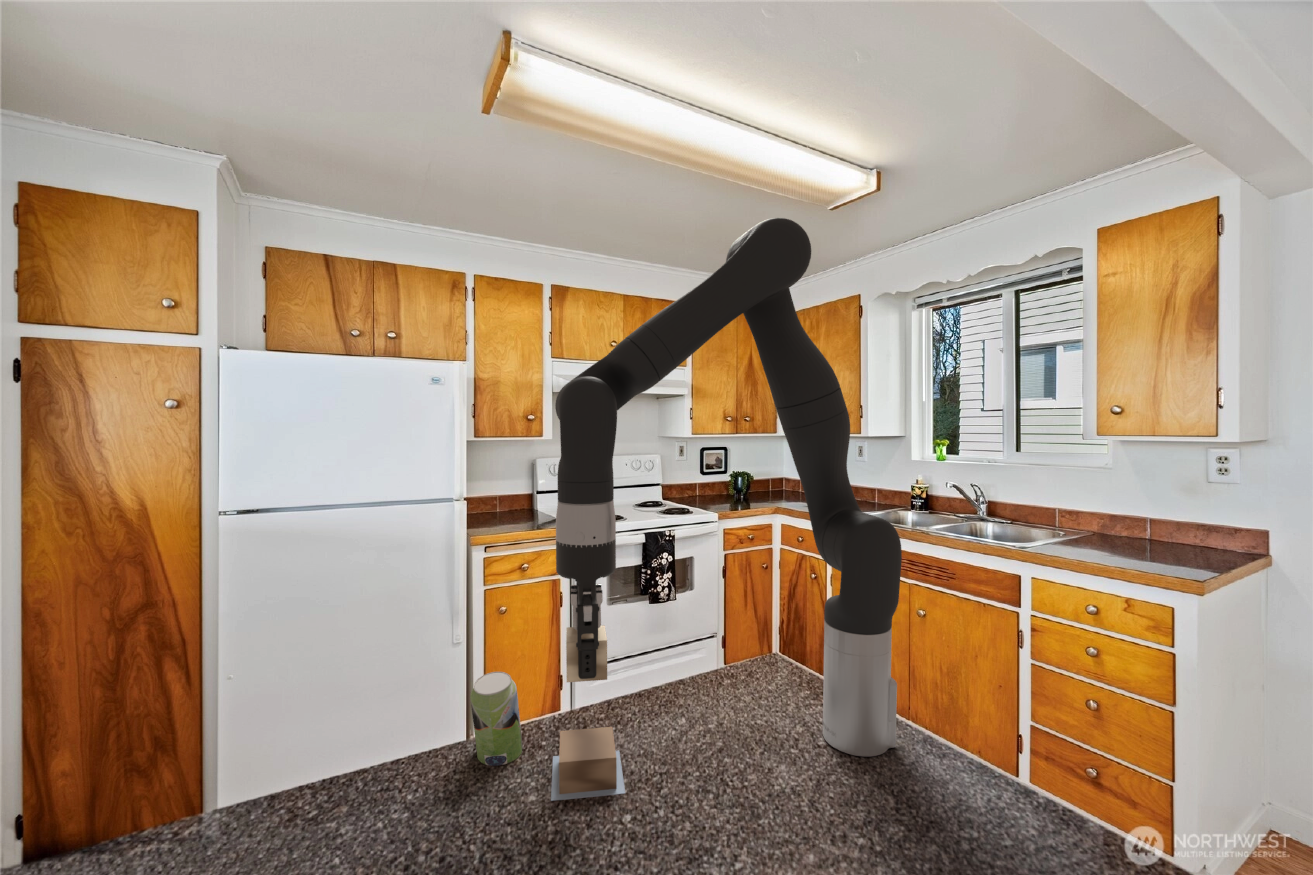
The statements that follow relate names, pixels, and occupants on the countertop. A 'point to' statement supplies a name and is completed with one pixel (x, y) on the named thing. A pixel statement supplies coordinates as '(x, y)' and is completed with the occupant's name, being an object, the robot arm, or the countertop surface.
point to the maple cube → (573, 655)
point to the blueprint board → (619, 790)
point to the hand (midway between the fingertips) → (586, 666)
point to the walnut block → (587, 760)
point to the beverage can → (496, 719)
